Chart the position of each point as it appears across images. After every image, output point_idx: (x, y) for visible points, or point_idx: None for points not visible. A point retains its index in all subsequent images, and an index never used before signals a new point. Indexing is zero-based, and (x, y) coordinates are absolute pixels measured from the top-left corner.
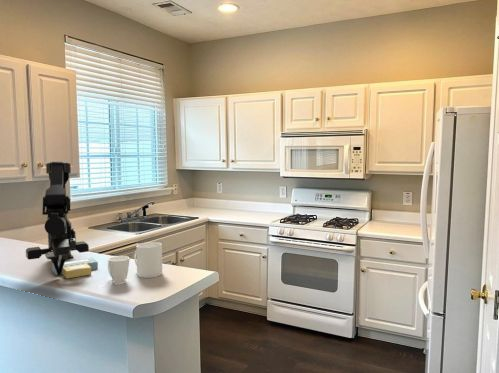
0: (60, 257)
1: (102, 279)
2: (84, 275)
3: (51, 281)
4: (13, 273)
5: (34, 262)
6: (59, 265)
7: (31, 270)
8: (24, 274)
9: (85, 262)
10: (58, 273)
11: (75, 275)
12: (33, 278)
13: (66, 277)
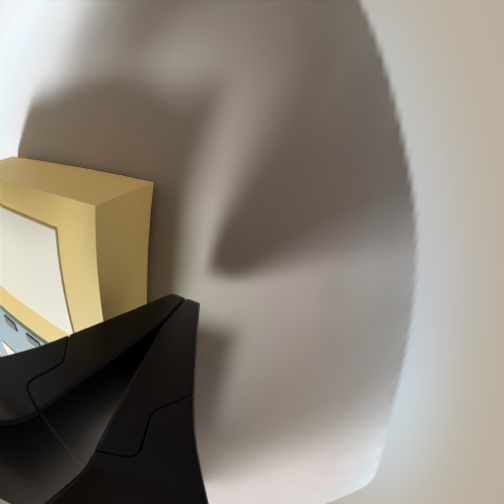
0: (35, 472)
1: (30, 10)
2: (37, 161)
3: (312, 241)
4: (336, 486)
5: (215, 496)
6: (120, 386)
7: (265, 479)
8: (321, 469)
9: (7, 333)
10: (188, 307)
11: (73, 171)
12: (346, 416)
13: (147, 194)
